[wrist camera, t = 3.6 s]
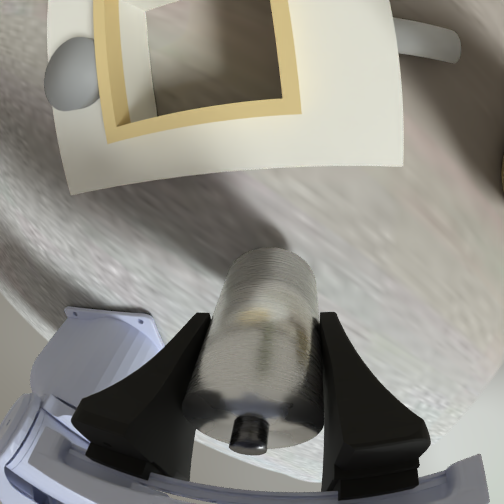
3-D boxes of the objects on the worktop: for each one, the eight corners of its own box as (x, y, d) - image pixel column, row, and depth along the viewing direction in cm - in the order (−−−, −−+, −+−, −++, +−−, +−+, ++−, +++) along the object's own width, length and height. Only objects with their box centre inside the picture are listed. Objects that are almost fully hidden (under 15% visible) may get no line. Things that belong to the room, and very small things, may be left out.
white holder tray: (98, 179, 15) (56, 203, 12) (77, 6, 10) (34, -3, 6) (443, 157, 12) (483, 178, 9) (418, -40, 6) (447, -67, 3)
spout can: (233, 320, 17) (195, 462, 9) (219, 249, 15) (151, 404, 7) (315, 319, 16) (318, 470, 8) (316, 245, 14) (332, 417, 6)
